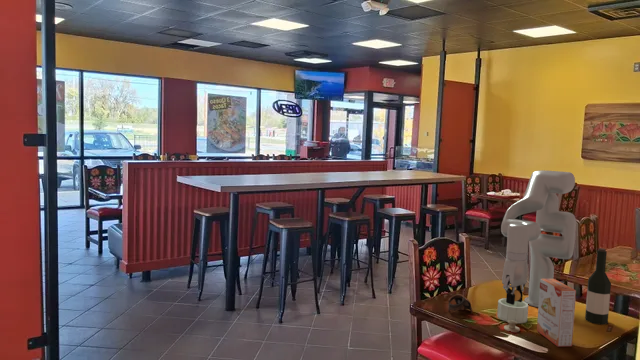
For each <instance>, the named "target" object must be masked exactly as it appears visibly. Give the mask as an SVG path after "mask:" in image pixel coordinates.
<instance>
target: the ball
mask: <svg viewBox="0 0 640 360" xmlns="http://www.w3.org/2000/svg"><path fill="white" fill-rule="evenodd" d="M514 294H515V301H518V300H519V299H520V298H521V294H520V292H519V291H518V290H516V289H515V291H514Z"/></svg>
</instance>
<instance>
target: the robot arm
mask: <svg viewBox="0 0 640 360" xmlns="http://www.w3.org/2000/svg"><path fill="white" fill-rule="evenodd" d="M575 186H576V179H575V175H574V174H573V172H571V171H558V170H557V171H556V170H545V169H544V170H543V169H542V170H535V171H532V173H531V175H530V178H529V179H528V183H527V185H526V189H525V192H524V194H523V197H522V198H521V199H519V200H518V201H516V202H515V203H513V204H511V206H510V207H508V208H507V210H506V211H505V213H504V216H503V218H502V221H501V225H500V232H501V234H502V235H503V237H505V238H506V239H507V240H506V256H505V257H506V258H505V260H504V265H503V269H502V277H501V278H502V279H501V283H502V289H504V290H505V293H506V295H505V296H506V303H509V304H512V305H514V303H515V294H514V291H515V290H518V291H519V292H520V294H521V298H520V299H519V300H518V302H522V301H524V302H526V303H527V304H529V305H528V306H531V307H535V308H538V307H539V291H540V279H554V275H555V274H554V272H555V265H554V262H553V261H552V260H551V258H553V259H554V258H556V259H561V260H569V259H571V258H572V257H573V254H574V248H575V240H576V229H577V220H576V216H575V215H574V213H572V212H568V211H561V210H559V203H560V200H559V199H560V198H559V196H558V195H557V194H560V195H564V194H567V193H570V192H571V191H572V190H573V189H574V187H575ZM534 212H536V214H535V215H536V217H535V221H531V220H525V219H517V217H519V216H522V215H525V214H529V213H534ZM542 231H544V232H550V233H556V234H557V233H558V234H561V235H562V236H561V235H560V236H559V235H554V234H545V233H542ZM529 248H530V251H529ZM529 252H530V270H528V269H529V268H528V255H529ZM528 271H529V274H528ZM528 275H529V282H528ZM527 283H529V284H528V296H526V297H525V298H524V299H523V296H524V291H525V289H524V288H525V286H526V285H527Z"/></svg>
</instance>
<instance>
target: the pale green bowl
mask: <svg viewBox="0 0 640 360" xmlns="http://www.w3.org/2000/svg"><path fill="white" fill-rule="evenodd" d="M496 315H497V318H498V319H499V320H501V321H502V322H507V323H508V321H509V320H513V321H516V322H517V324H525V323H528V317H529V305H528V304H527V303H526V302H524V300H522V302H518V301H515V303H514V305H512V304H509V303H506V298H505V297H503V298H500V299H498V301H497V313H496Z"/></svg>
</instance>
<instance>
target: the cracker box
mask: <svg viewBox="0 0 640 360" xmlns="http://www.w3.org/2000/svg"><path fill="white" fill-rule="evenodd" d="M576 296H577V289H574V288H572V287H570V286H569V285H566V284H564V283H563V282H561V281H559V280H557V279H556V278H553V279H540V291H539V307H537V308H538V310H537V322H536V323H537V324H536V325H537V326H536V332H538V333H539V334H540V335H542V336H543V337H545V339H547V340H548V341H549V342H550V343H552V344H553V345H555V346H556V347H558V348H559V347H573V341H574V340H573V338H574V336H573V335H574V325H575V313H576V312H575V311H576V298H577V297H576Z"/></svg>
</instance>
